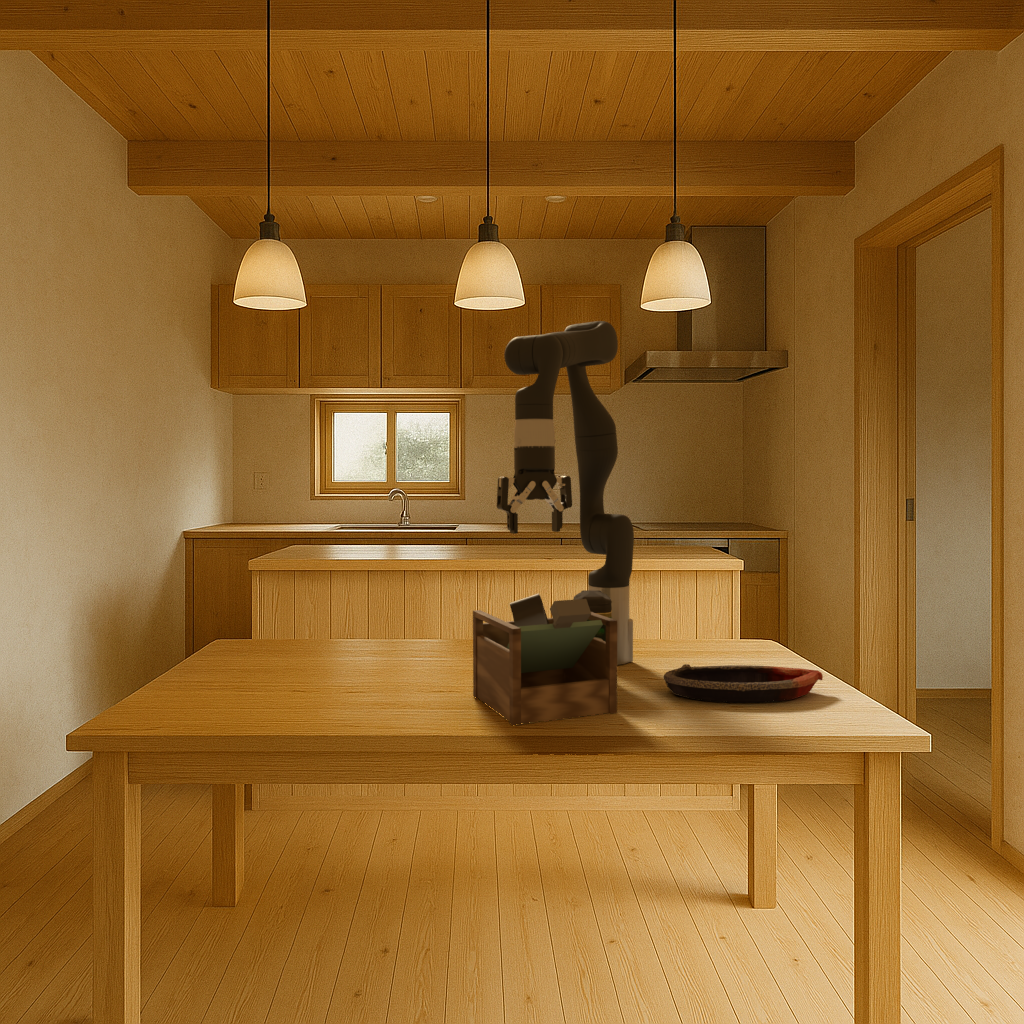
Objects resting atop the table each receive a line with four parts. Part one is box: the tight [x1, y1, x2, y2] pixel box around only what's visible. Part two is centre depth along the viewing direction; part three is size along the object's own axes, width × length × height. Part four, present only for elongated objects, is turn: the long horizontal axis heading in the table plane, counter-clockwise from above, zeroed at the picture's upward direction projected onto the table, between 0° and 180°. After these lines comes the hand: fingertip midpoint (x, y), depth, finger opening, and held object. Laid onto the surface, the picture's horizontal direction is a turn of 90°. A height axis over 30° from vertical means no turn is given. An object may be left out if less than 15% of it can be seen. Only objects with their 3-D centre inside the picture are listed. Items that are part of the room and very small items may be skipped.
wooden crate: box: [472, 609, 618, 726], centre depth 154 cm, size 20×20×16 cm
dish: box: [663, 663, 824, 704], centre depth 161 cm, size 16×31×5 cm, turn 90°
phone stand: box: [509, 592, 549, 627], centre depth 158 cm, size 9×6×12 cm
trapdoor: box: [506, 599, 603, 673], centre depth 150 cm, size 16×22×3 cm
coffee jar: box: [572, 589, 612, 642], centre depth 170 cm, size 10×8×19 cm
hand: (535, 532), depth 155 cm, fingers open, 8 cm apart
